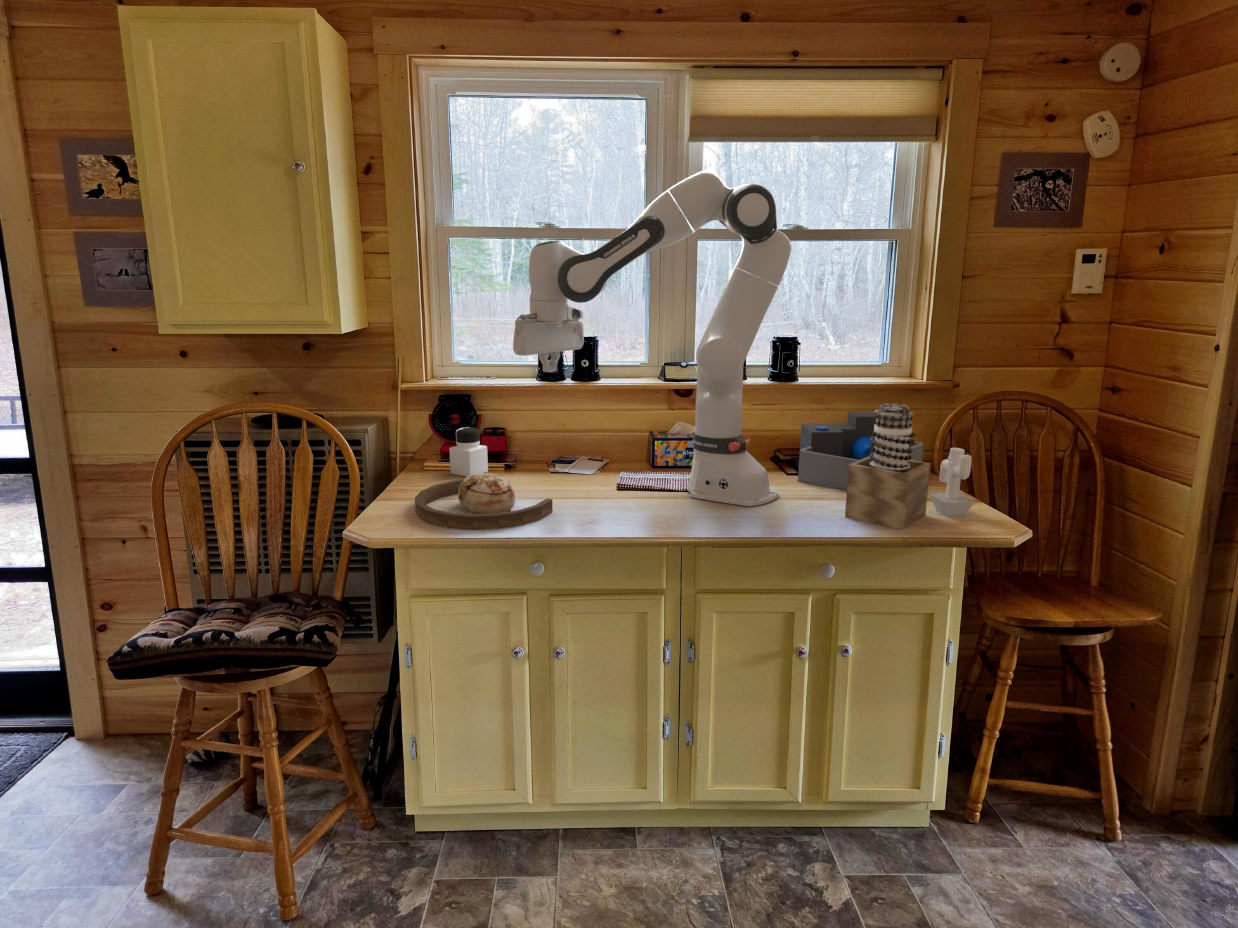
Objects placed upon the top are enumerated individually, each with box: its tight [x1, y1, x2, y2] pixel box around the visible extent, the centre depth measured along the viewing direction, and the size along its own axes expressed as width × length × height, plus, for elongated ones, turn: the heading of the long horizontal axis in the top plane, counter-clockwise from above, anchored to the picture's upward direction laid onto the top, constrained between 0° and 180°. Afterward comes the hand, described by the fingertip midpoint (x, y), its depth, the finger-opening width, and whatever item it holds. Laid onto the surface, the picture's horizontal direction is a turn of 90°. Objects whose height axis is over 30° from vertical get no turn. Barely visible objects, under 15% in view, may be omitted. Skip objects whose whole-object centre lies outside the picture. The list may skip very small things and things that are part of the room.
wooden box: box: [844, 456, 932, 530], centre depth 181 cm, size 13×13×12 cm
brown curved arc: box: [414, 478, 553, 531], centre depth 184 cm, size 31×24×3 cm
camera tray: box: [797, 441, 924, 492], centre depth 214 cm, size 21×30×8 cm
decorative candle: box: [870, 402, 916, 473], centre depth 179 cm, size 9×9×25 cm
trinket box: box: [457, 472, 516, 514], centre depth 186 cm, size 13×15×8 cm
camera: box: [799, 410, 876, 460], centre depth 216 cm, size 25×16×16 cm, turn 92°
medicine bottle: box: [448, 426, 489, 478], centre depth 215 cm, size 7×7×12 cm
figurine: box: [928, 447, 976, 517], centre depth 183 cm, size 7×9×15 cm
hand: (549, 371), depth 195 cm, fingers closed
